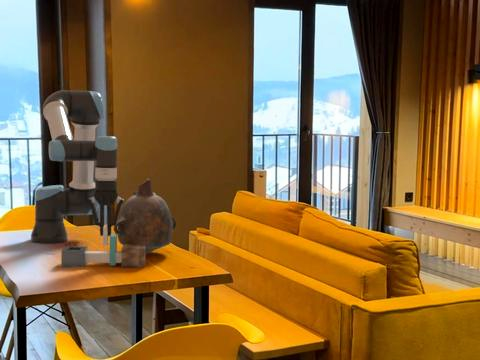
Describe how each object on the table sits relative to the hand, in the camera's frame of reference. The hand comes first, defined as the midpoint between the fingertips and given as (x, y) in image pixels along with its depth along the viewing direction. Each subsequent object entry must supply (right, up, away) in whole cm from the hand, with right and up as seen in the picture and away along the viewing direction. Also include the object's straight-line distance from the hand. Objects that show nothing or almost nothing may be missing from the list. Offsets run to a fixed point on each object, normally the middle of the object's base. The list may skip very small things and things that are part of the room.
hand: (105, 244), depth 229 cm
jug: (+11, -6, +21) cm, 24 cm away
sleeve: (-11, -7, 0) cm, 13 cm away
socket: (+10, -8, +2) cm, 13 cm away
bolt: (+1, -7, +1) cm, 7 cm away
